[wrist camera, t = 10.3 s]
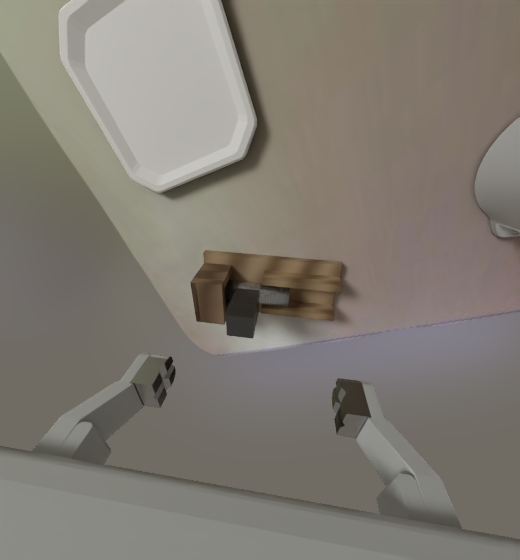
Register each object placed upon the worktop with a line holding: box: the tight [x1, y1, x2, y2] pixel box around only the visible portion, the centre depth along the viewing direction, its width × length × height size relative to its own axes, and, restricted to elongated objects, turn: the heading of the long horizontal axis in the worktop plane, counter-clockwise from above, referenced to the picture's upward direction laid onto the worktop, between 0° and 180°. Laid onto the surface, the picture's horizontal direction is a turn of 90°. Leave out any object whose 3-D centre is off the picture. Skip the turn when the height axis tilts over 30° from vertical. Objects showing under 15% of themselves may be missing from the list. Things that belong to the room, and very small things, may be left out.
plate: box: [59, 0, 257, 193], centre depth 29 cm, size 21×21×2 cm
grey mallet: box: [225, 280, 290, 338], centre depth 38 cm, size 14×4×11 cm, turn 88°
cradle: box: [191, 250, 343, 324], centre depth 40 cm, size 24×12×8 cm, turn 88°
